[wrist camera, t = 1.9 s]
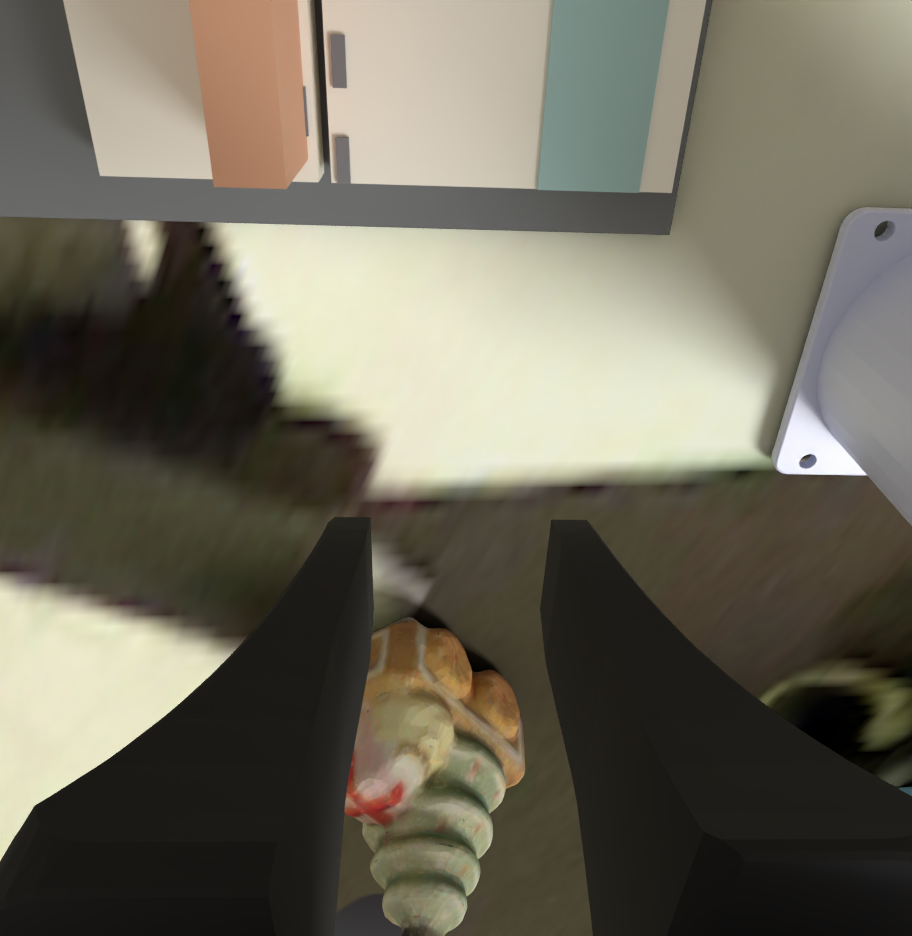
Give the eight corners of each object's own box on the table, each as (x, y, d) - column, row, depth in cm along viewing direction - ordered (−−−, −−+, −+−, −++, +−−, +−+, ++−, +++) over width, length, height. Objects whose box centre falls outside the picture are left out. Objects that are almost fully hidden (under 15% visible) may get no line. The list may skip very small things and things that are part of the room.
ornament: (283, 664, 28) (219, 950, 20) (400, 579, 26) (382, 858, 18) (428, 760, 32) (425, 1041, 23) (542, 692, 30) (584, 973, 21)
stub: (302, -206, 15) (261, -264, 11) (324, 172, 18) (298, 215, 15) (41, -218, 15) (-82, -281, 11) (116, 166, 18) (42, 208, 15)
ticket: (721, -185, 15) (743, -198, 14) (659, 182, 19) (672, 193, 18) (318, -205, 15) (309, -219, 14) (337, 172, 19) (331, 183, 18)
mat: (754, -267, 15) (762, -272, 14) (665, 230, 20) (669, 234, 20) (-195, -316, 14) (-209, -323, 14) (-33, 211, 19) (-41, 215, 19)
